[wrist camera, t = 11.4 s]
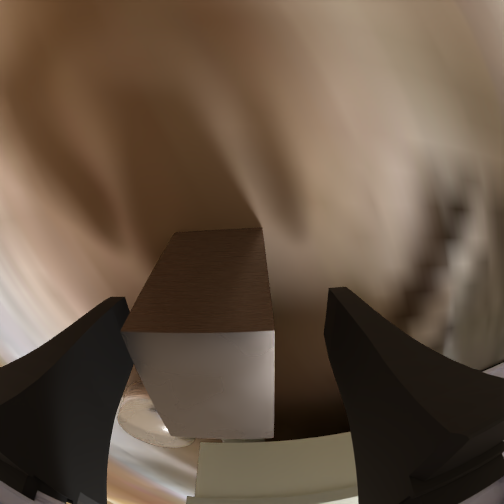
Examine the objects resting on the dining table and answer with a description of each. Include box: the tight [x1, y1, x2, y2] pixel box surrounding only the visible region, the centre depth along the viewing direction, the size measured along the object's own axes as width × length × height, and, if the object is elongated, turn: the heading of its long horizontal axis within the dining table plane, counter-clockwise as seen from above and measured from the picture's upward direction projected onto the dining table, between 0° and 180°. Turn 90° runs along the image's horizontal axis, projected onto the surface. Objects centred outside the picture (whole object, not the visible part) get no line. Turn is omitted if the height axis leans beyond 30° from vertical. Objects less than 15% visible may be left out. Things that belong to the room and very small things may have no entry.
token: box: [117, 381, 195, 448], centre depth 16 cm, size 5×5×2 cm
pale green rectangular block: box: [186, 432, 358, 504], centre depth 14 cm, size 17×10×8 cm, turn 93°
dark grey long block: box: [120, 228, 275, 443], centre depth 12 cm, size 4×16×6 cm, turn 3°
